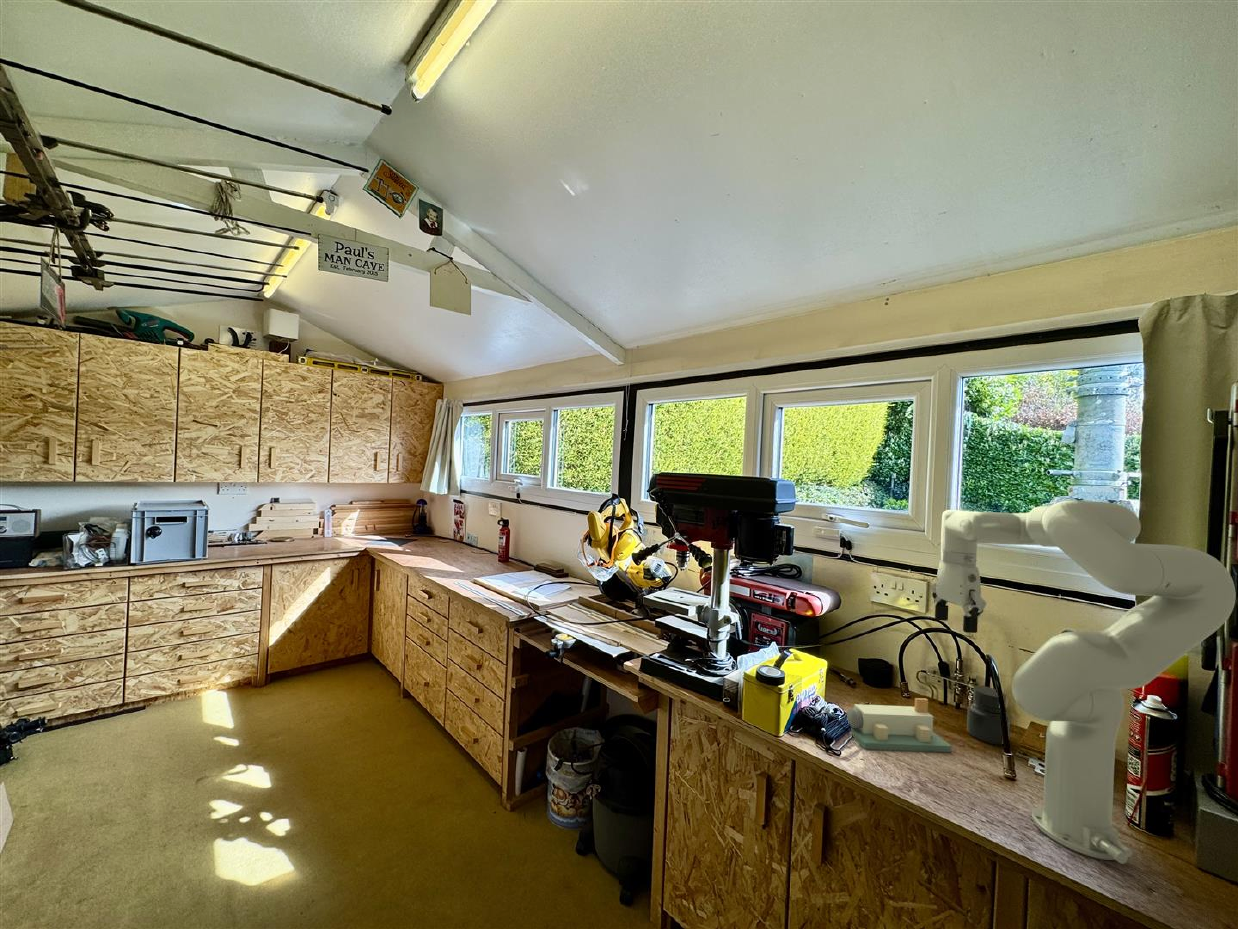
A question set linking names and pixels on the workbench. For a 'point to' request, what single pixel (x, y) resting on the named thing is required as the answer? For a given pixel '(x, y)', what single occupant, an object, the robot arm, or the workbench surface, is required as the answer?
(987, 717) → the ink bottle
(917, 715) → the block with grey endcap
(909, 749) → the jig
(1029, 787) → the workbench surface
